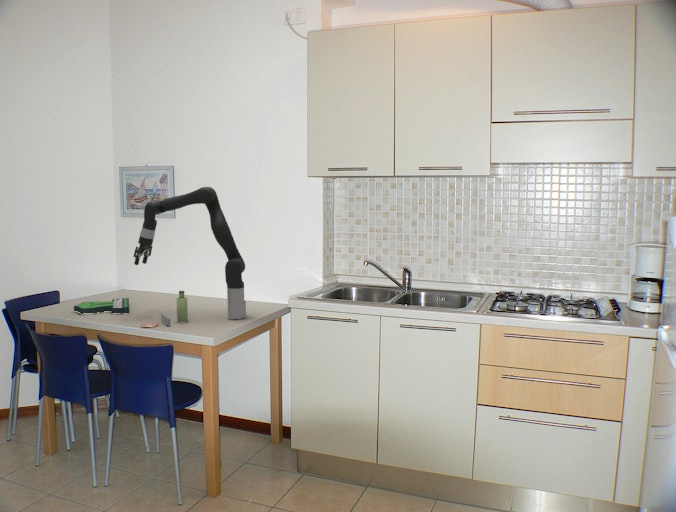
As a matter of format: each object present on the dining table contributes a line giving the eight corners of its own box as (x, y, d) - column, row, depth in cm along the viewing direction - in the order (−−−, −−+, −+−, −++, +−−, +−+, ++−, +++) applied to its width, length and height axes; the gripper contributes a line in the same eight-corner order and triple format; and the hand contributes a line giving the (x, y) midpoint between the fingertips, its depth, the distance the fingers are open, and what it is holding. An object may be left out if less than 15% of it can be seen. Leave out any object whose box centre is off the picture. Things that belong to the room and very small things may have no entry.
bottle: (186, 320, 309) (185, 289, 307) (189, 322, 304) (188, 291, 302) (175, 321, 306) (174, 290, 304) (178, 323, 301) (177, 292, 299)
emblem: (129, 307, 324) (71, 311, 313) (129, 314, 324) (71, 318, 314) (128, 297, 352) (75, 301, 341) (128, 304, 352) (76, 307, 342)
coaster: (155, 323, 302) (155, 322, 302) (160, 326, 295) (160, 325, 294) (138, 325, 297) (138, 324, 297) (142, 328, 290) (142, 327, 290)
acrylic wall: (163, 321, 307) (162, 313, 306) (170, 326, 295) (170, 319, 294) (161, 321, 306) (161, 314, 306) (168, 326, 294) (168, 319, 294)
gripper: (146, 239, 308) (139, 267, 310) (159, 237, 322) (152, 264, 324) (134, 235, 309) (127, 263, 311) (147, 234, 323) (140, 260, 325)
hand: (140, 264), depth 318 cm, fingers open, 8 cm apart
